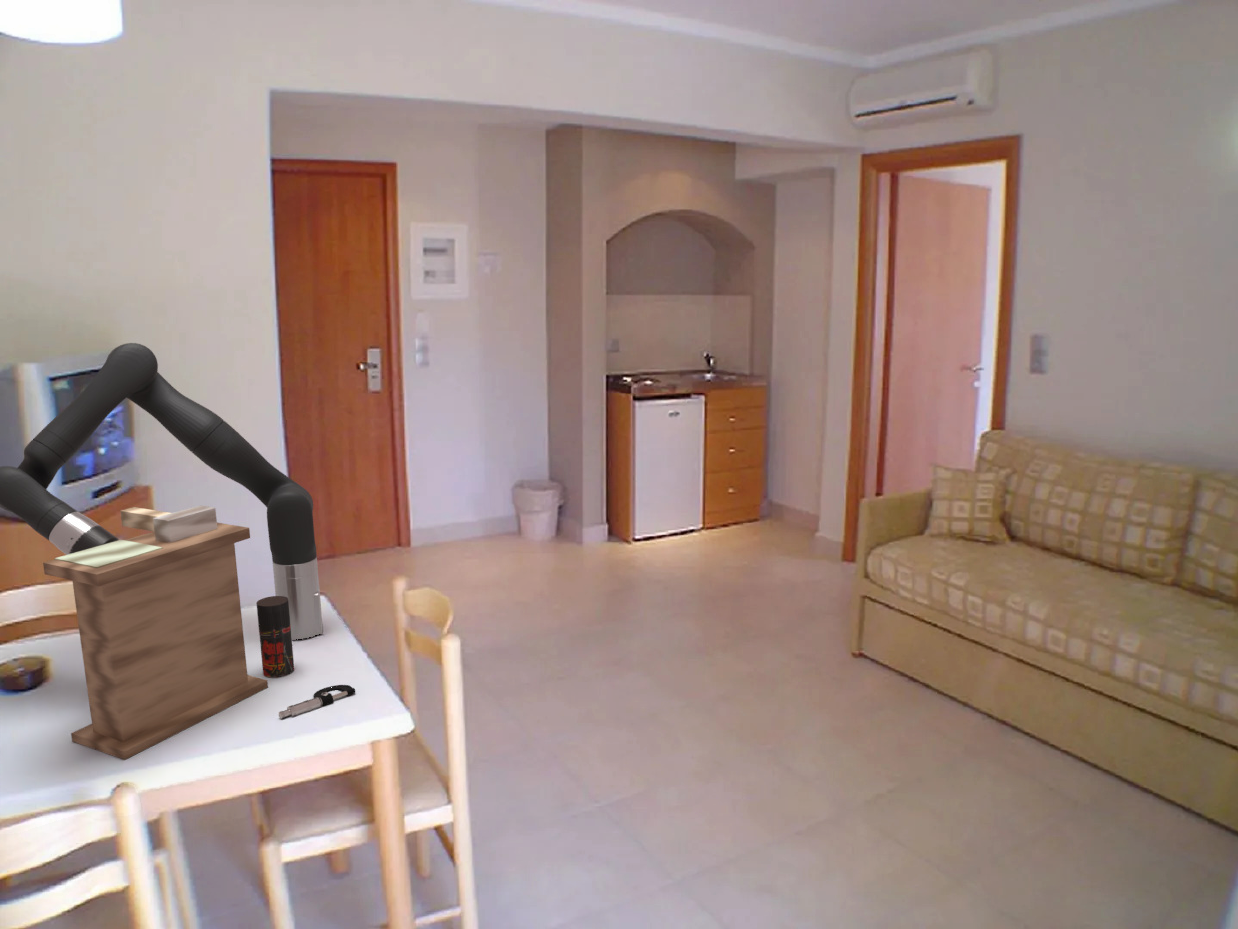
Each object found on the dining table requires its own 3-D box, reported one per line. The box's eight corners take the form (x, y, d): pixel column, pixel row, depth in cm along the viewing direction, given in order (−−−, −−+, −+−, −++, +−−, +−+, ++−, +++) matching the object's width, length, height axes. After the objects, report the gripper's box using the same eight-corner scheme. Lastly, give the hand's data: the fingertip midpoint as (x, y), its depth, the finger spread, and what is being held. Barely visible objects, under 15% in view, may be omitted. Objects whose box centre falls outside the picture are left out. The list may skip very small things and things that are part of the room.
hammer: (104, 530, 170) (102, 509, 169) (152, 517, 178) (150, 498, 178) (170, 542, 162) (168, 520, 161) (217, 528, 171) (215, 507, 170)
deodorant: (257, 672, 184) (250, 601, 181) (285, 662, 188) (279, 593, 185) (271, 680, 180) (265, 608, 177) (299, 671, 184) (293, 600, 181)
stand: (68, 740, 158) (42, 561, 151) (214, 673, 184) (197, 518, 177) (125, 760, 151) (100, 574, 144) (267, 687, 177) (252, 527, 170)
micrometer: (342, 684, 179) (341, 672, 178) (359, 696, 174) (358, 684, 173) (266, 710, 169) (265, 697, 168) (283, 723, 164) (281, 710, 163)
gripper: (70, 531, 163) (144, 584, 164) (117, 518, 177) (185, 567, 178) (48, 564, 164) (122, 617, 165) (97, 549, 178) (165, 597, 179)
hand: (155, 591), depth 171 cm, fingers open, 8 cm apart
